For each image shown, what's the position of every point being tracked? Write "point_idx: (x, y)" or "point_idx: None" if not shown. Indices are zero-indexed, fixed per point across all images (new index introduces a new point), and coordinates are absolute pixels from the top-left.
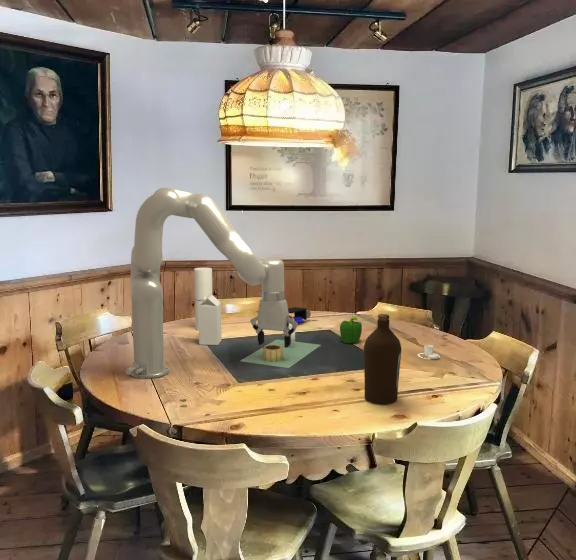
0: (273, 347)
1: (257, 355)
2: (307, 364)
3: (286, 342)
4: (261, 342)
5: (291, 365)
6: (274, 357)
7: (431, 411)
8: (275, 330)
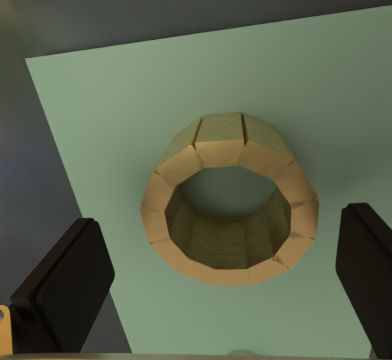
0: (248, 256)
1: (352, 191)
2: (68, 224)
3: (57, 252)
4: (347, 232)
5: (50, 117)
6: (178, 140)
7: None
8: (87, 354)
